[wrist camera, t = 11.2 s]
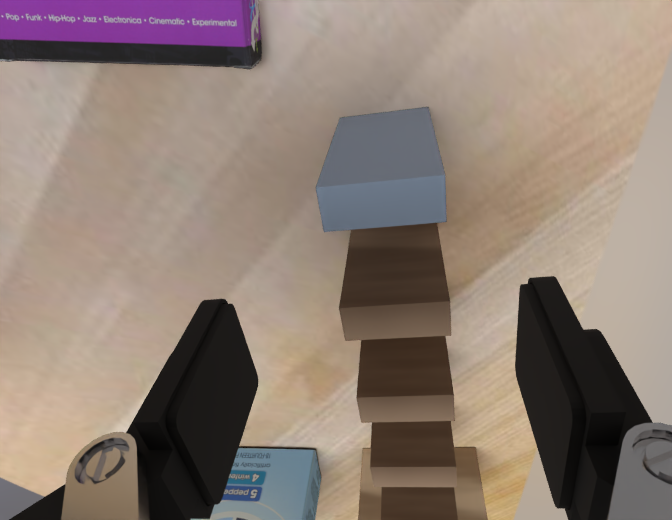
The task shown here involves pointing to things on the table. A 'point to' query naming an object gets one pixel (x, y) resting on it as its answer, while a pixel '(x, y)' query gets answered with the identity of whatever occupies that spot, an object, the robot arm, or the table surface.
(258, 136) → the table surface
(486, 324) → the table surface
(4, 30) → the box
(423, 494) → the domino
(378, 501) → the bookend
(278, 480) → the gum box
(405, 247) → the domino
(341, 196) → the domino
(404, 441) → the domino
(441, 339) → the domino
